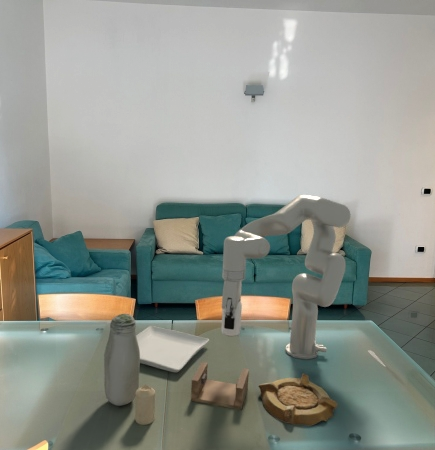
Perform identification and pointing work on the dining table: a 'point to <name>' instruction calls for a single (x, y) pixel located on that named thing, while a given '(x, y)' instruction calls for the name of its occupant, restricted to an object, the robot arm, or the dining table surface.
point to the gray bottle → (121, 361)
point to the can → (236, 322)
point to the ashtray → (297, 401)
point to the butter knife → (376, 357)
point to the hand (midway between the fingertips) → (231, 324)
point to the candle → (145, 405)
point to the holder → (219, 389)
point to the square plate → (168, 348)
